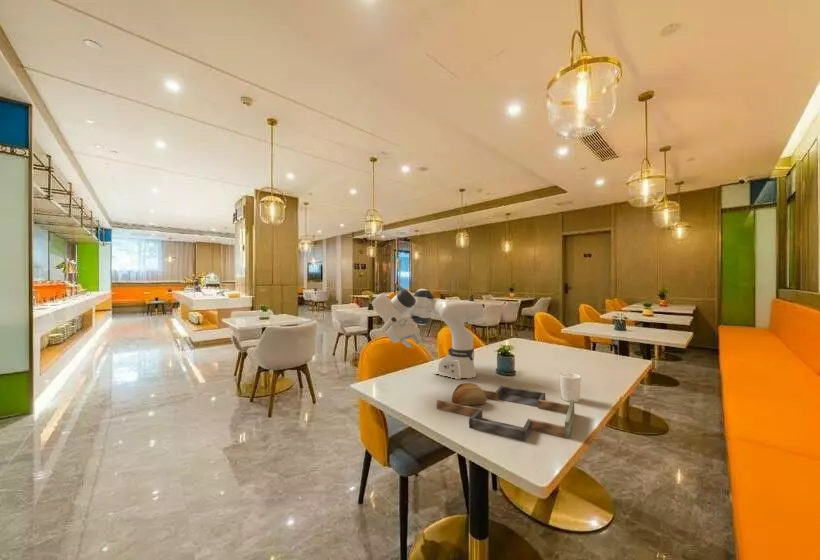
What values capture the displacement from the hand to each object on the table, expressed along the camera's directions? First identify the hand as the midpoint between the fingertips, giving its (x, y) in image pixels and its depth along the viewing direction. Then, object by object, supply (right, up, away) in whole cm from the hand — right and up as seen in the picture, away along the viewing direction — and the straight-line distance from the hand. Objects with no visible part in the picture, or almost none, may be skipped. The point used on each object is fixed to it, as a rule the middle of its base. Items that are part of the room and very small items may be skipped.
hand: (414, 345), depth 142 cm
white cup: (+65, -21, -9) cm, 69 cm away
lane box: (+34, -21, -21) cm, 45 cm away
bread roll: (+22, -21, -13) cm, 33 cm away
